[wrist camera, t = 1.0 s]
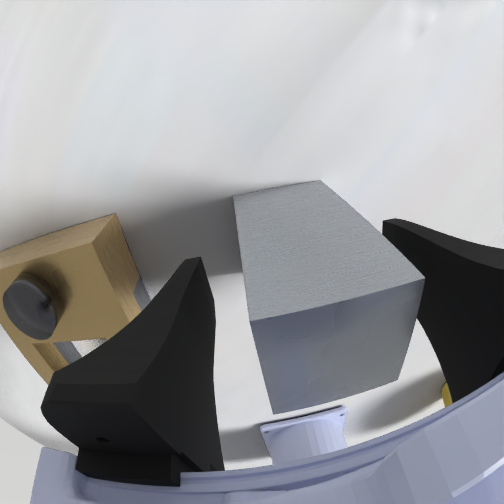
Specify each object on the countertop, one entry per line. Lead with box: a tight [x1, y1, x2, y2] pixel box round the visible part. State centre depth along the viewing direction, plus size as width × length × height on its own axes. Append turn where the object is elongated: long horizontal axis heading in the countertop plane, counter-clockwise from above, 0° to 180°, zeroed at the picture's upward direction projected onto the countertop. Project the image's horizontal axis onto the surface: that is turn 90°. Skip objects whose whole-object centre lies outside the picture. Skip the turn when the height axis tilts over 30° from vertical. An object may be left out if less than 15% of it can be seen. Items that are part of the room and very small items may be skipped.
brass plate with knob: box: [0, 213, 151, 385], centre depth 14 cm, size 15×9×4 cm, turn 10°
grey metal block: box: [233, 180, 425, 415], centre depth 10 cm, size 4×4×8 cm
